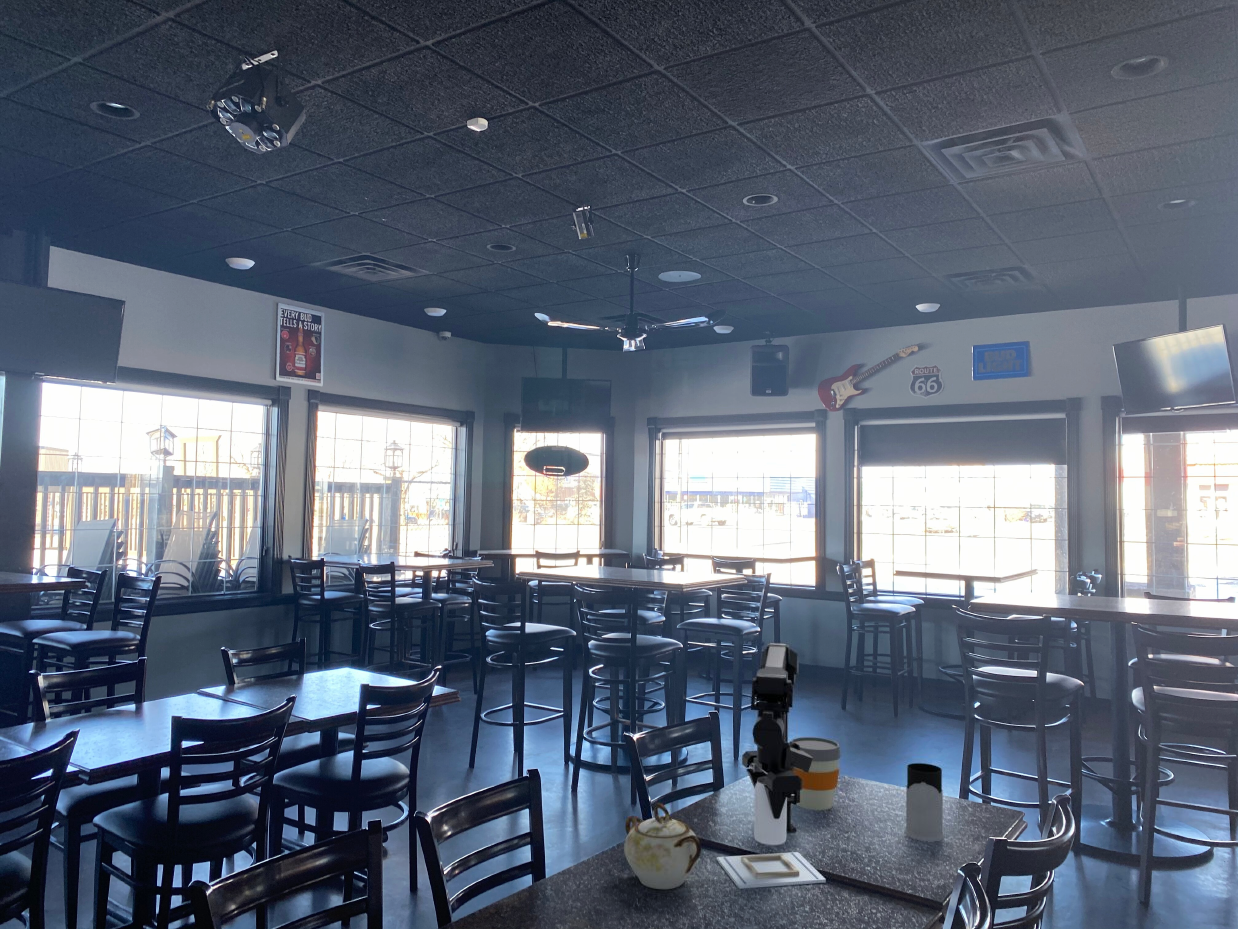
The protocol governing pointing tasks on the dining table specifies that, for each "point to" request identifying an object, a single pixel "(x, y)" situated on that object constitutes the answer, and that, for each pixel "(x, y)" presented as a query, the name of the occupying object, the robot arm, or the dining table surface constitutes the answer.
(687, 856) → the sugar bowl
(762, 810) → the can
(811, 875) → the grey flat tray
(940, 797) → the glass holder
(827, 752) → the reusable coffee cup
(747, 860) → the seat frame
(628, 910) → the dining table surface
